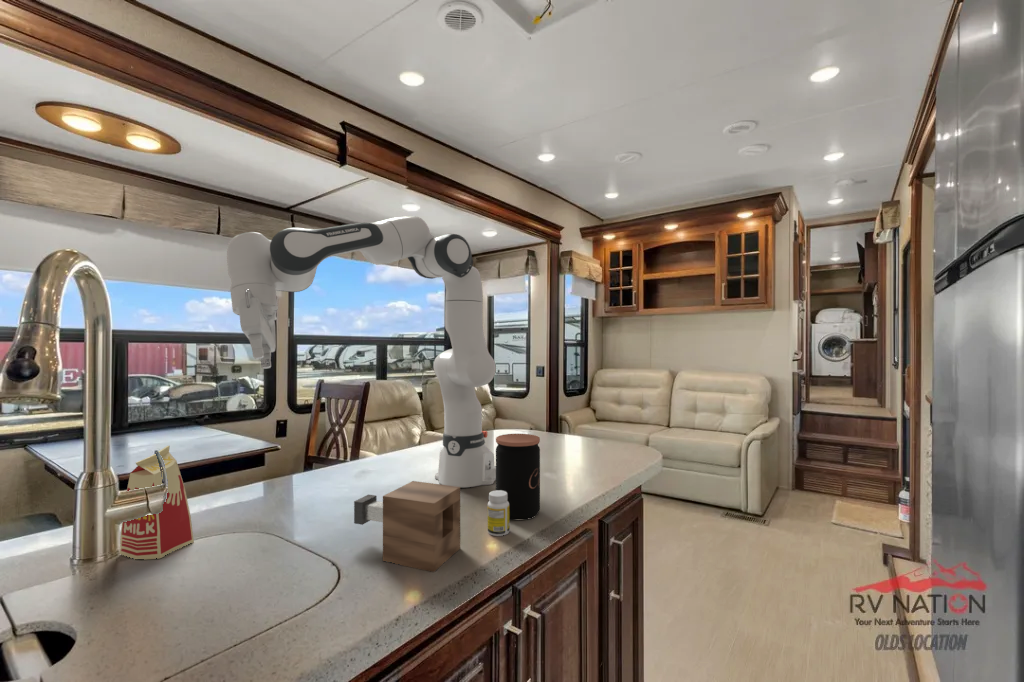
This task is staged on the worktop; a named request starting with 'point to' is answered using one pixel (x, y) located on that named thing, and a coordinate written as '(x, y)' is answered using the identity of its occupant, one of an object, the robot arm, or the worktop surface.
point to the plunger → (368, 510)
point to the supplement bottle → (498, 513)
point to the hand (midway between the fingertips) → (262, 363)
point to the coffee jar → (519, 473)
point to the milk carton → (167, 527)
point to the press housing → (421, 525)
